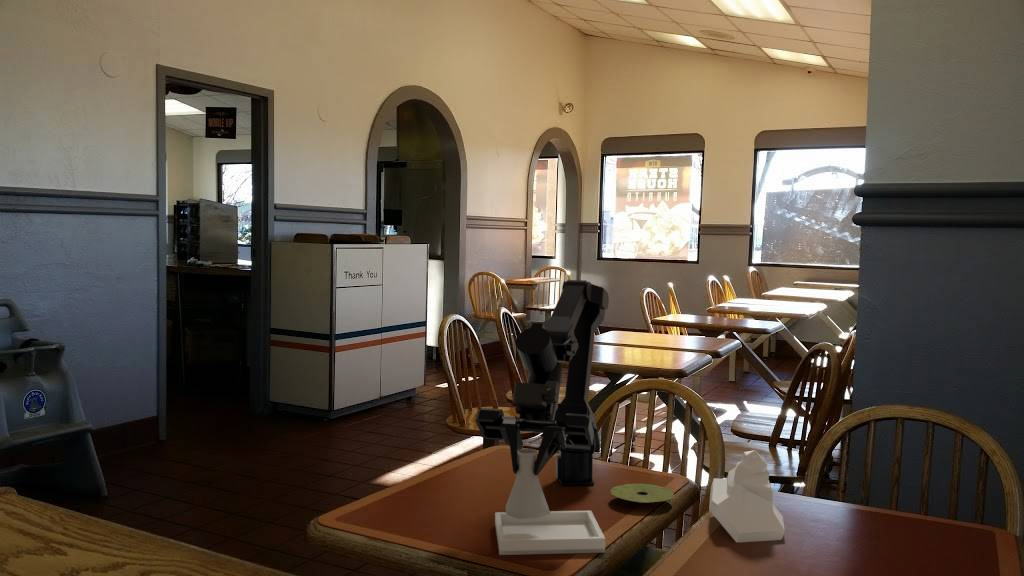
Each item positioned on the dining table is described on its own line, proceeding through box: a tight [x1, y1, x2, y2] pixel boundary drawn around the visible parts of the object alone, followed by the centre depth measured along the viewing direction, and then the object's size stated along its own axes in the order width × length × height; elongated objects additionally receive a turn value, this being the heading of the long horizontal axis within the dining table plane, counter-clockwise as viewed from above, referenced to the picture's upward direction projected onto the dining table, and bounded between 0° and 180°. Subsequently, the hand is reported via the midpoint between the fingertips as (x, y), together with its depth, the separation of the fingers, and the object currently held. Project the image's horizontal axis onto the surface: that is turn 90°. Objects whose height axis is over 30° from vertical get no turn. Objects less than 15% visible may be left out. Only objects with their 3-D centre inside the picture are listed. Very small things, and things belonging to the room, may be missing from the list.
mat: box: [610, 483, 675, 505], centre depth 150 cm, size 11×11×2 cm
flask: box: [504, 448, 551, 519], centre depth 132 cm, size 7×7×10 cm
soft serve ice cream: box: [709, 449, 785, 543], centre depth 136 cm, size 12×15×14 cm
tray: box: [494, 510, 606, 556], centre depth 132 cm, size 16×13×2 cm
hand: (525, 473), depth 130 cm, fingers closed on flask, 3 cm apart
